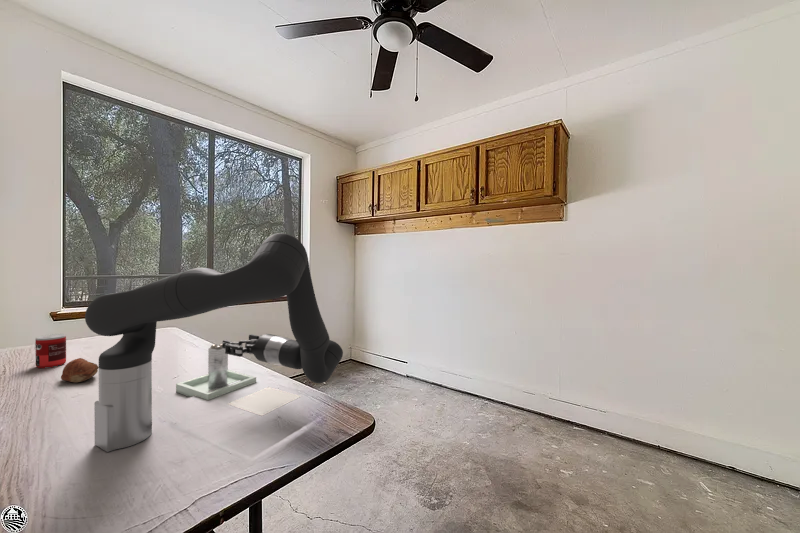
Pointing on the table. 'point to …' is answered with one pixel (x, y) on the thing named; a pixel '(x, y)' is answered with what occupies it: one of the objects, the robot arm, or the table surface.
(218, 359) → the cup
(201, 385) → the tray
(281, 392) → the board
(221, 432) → the table surface
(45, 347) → the canned food
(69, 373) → the bread roll
